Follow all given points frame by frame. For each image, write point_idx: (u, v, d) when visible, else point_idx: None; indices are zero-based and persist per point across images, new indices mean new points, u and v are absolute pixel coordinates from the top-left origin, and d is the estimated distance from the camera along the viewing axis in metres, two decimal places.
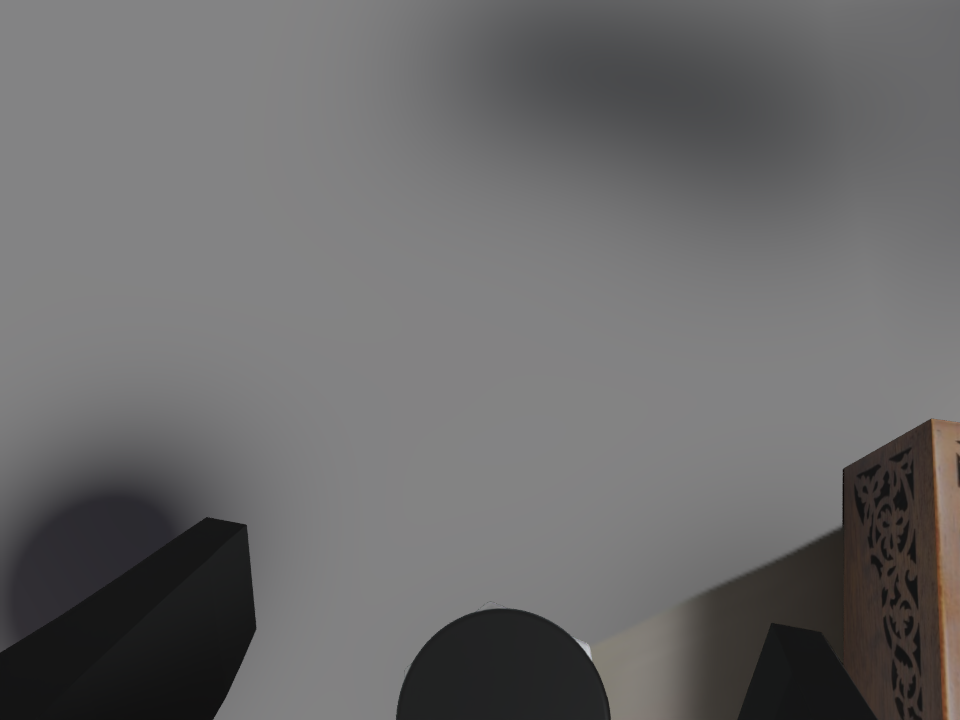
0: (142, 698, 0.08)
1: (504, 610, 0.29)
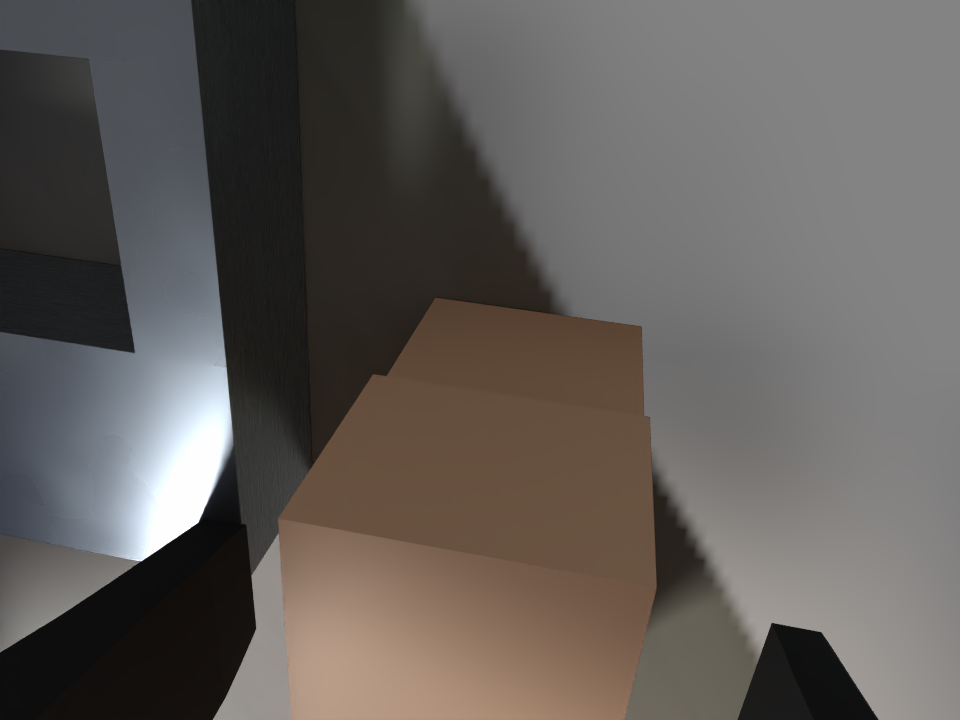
0: (142, 698, 0.08)
1: None
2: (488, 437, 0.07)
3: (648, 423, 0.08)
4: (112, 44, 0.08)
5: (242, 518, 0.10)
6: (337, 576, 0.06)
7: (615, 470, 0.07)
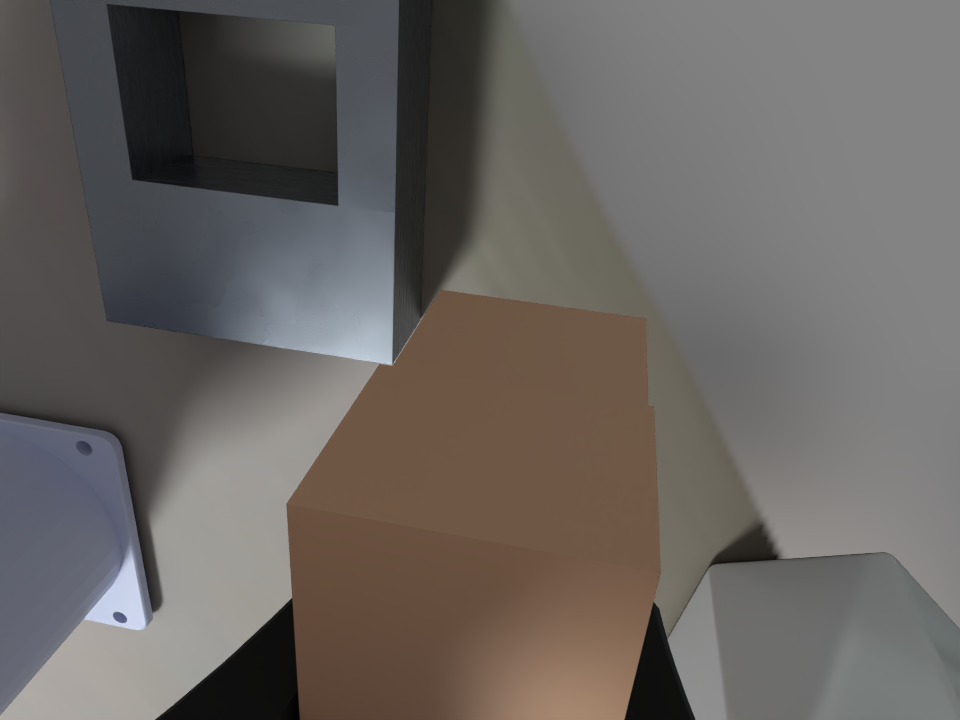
0: None
1: None
2: (494, 425, 0.07)
3: (652, 413, 0.08)
4: (350, 16, 0.14)
5: (393, 318, 0.16)
6: (345, 561, 0.06)
7: (620, 458, 0.07)
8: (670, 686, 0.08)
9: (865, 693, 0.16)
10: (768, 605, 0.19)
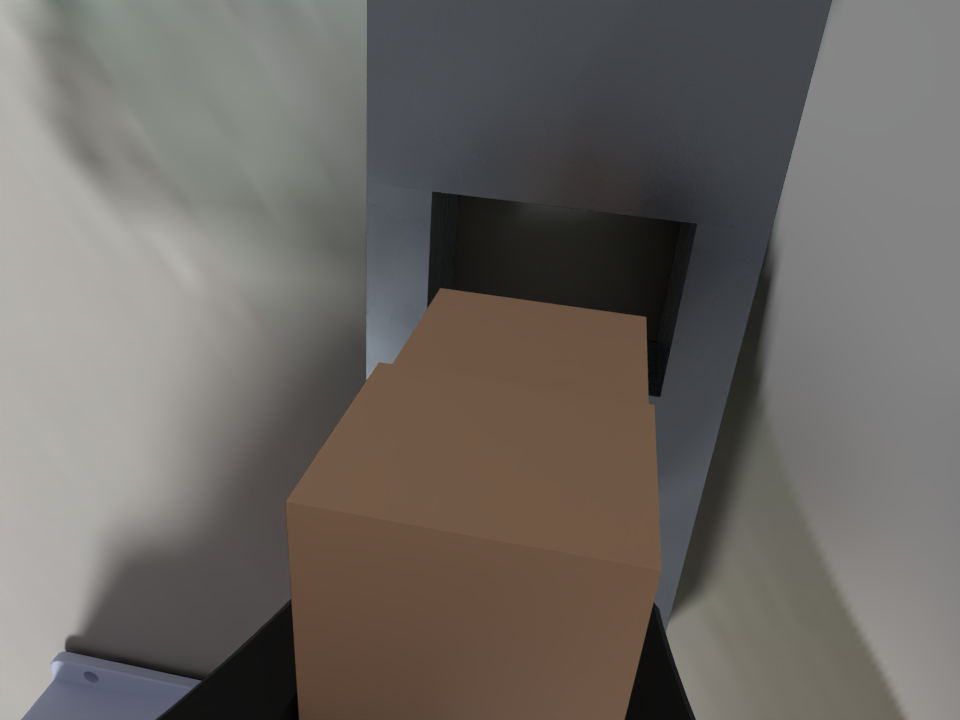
0: None
1: None
2: (494, 423, 0.07)
3: (653, 410, 0.08)
4: None
5: None
6: (344, 559, 0.06)
7: (620, 456, 0.07)
8: (670, 686, 0.08)
9: None
10: None
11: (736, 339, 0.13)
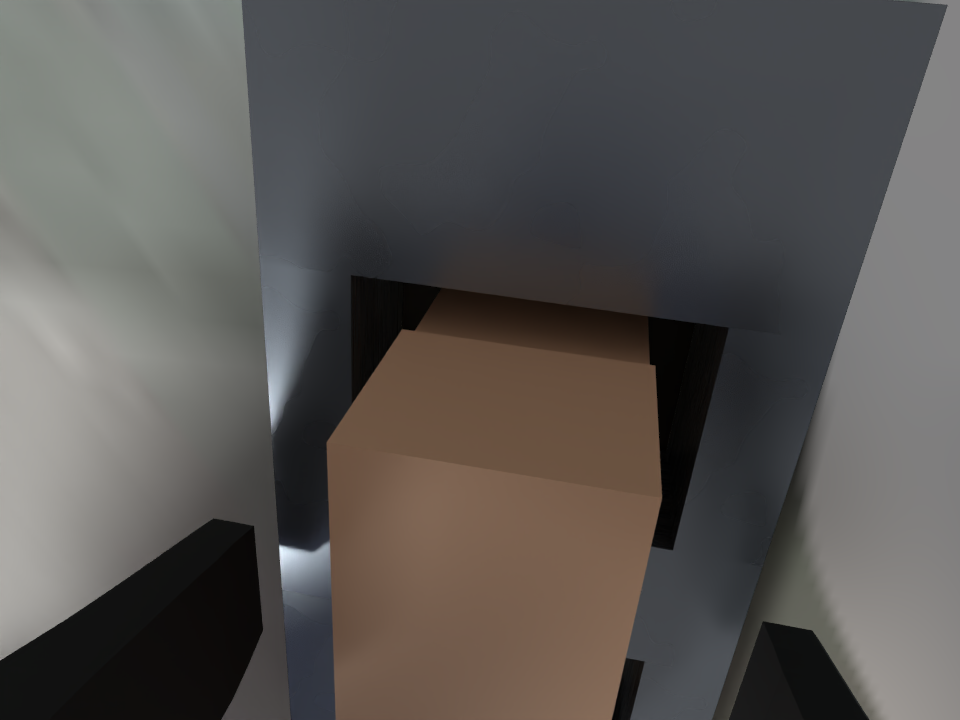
0: (150, 700, 0.08)
1: None
2: (509, 380, 0.08)
3: (654, 370, 0.08)
4: (666, 657, 0.11)
5: None
6: (378, 495, 0.07)
7: (624, 407, 0.08)
8: None
9: None
10: None
11: (781, 481, 0.10)
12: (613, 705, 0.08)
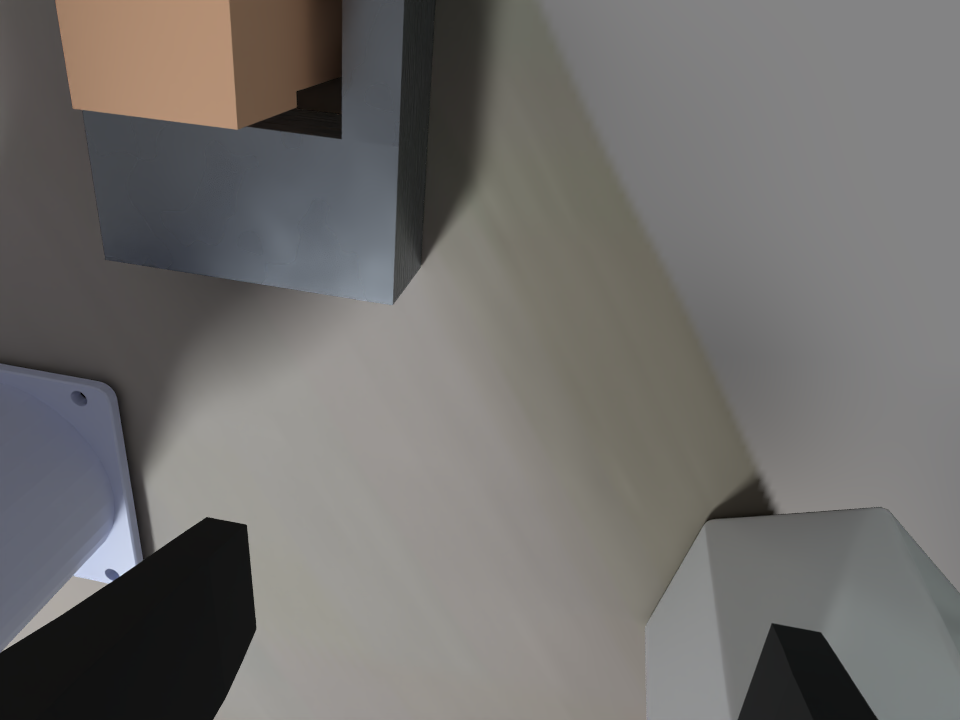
0: (142, 698, 0.08)
1: None
2: None
3: None
4: None
5: (395, 256, 0.16)
6: None
7: None
8: None
9: (860, 636, 0.16)
10: (764, 556, 0.19)
11: None
12: None
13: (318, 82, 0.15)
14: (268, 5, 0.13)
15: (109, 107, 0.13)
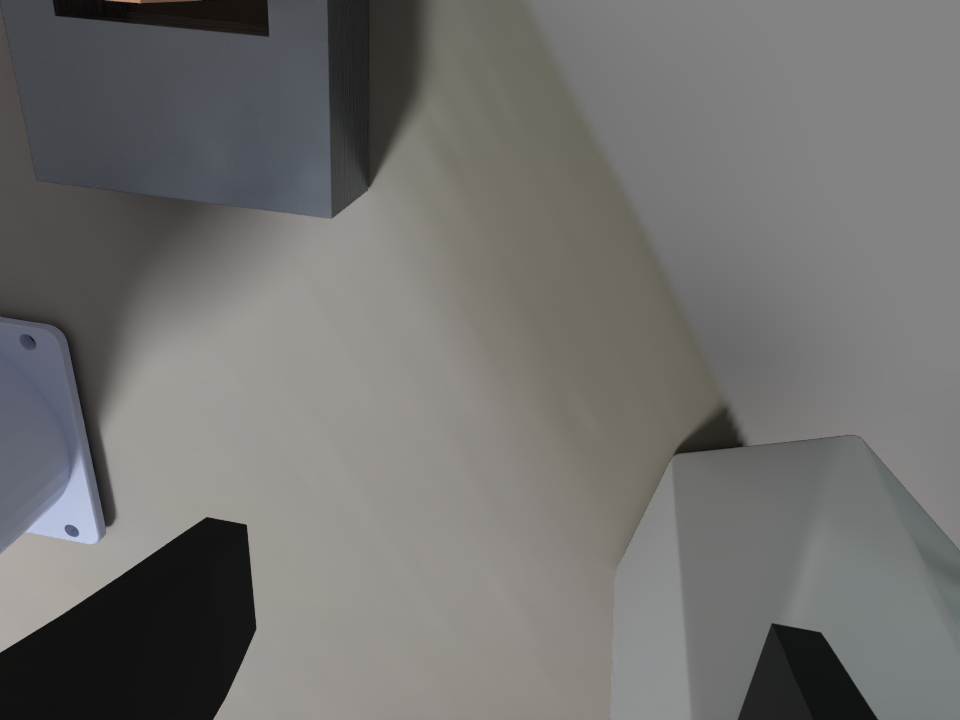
0: (142, 698, 0.08)
1: None
2: None
3: None
4: None
5: (331, 165, 0.16)
6: None
7: None
8: None
9: (825, 556, 0.15)
10: (730, 485, 0.18)
11: None
12: None
13: None
14: None
15: None
